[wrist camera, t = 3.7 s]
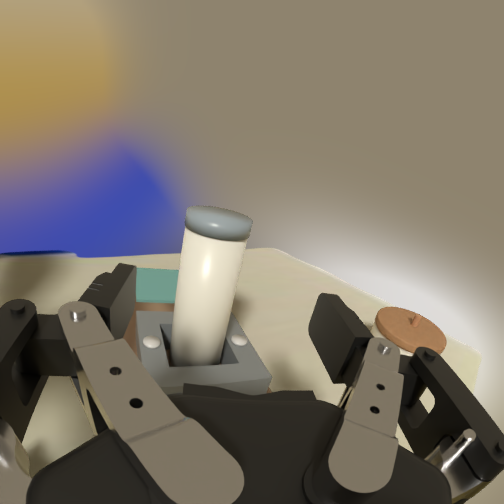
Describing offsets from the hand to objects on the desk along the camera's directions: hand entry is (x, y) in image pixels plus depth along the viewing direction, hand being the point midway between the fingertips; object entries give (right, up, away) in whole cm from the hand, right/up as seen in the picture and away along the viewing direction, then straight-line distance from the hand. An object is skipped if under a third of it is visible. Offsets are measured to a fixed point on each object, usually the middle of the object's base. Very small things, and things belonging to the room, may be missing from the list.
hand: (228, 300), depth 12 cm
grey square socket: (-5, -10, +16) cm, 19 cm away
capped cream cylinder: (-5, -10, +16) cm, 19 cm away
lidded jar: (+20, -15, +23) cm, 34 cm away
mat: (-12, -3, +31) cm, 33 cm away
